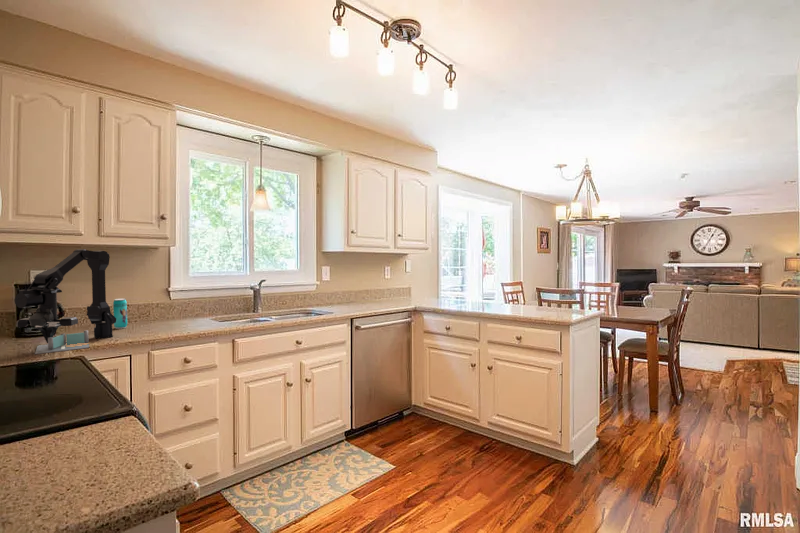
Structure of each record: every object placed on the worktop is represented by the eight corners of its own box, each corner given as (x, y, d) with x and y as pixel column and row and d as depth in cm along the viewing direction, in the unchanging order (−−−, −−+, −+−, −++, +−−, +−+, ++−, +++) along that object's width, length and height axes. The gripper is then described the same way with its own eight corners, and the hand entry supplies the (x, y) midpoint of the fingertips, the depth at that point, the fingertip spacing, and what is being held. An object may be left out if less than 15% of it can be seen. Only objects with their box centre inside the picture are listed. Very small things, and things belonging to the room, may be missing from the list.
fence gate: (62, 344, 177) (62, 333, 177) (66, 344, 178) (66, 333, 177) (47, 349, 168) (46, 338, 168) (51, 349, 168) (51, 338, 168)
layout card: (88, 340, 187) (88, 339, 187) (89, 347, 173) (89, 346, 173) (37, 346, 177) (37, 345, 177) (34, 354, 163) (34, 353, 163)
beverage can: (120, 329, 214) (119, 299, 213) (111, 328, 215) (110, 299, 214) (130, 327, 219) (129, 298, 219) (120, 326, 221) (119, 298, 220)
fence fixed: (88, 342, 182) (88, 330, 182) (88, 342, 181) (88, 330, 181) (66, 344, 178) (66, 332, 178) (66, 345, 177) (66, 333, 176)
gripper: (6, 307, 160) (7, 348, 160) (63, 307, 164) (64, 346, 164) (25, 304, 170) (26, 342, 171) (78, 303, 175) (79, 340, 175)
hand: (48, 343), depth 170 cm, fingers closed
